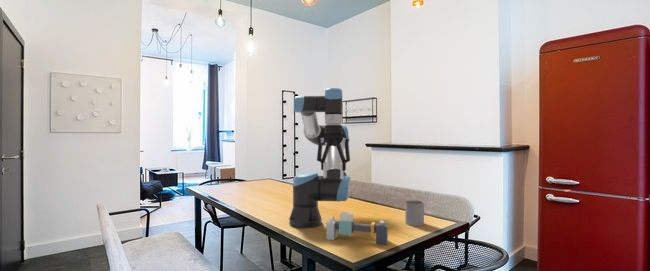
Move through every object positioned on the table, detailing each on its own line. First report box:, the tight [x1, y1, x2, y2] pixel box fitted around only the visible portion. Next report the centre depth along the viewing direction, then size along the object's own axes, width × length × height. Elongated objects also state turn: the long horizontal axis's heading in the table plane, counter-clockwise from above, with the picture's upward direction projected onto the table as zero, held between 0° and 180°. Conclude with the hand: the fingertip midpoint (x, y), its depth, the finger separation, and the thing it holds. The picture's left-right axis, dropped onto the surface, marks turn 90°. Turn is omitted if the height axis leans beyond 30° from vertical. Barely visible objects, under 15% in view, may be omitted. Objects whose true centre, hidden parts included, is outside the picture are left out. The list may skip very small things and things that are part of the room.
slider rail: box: [326, 216, 389, 246], centre depth 127 cm, size 24×6×8 cm, turn 74°
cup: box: [404, 199, 425, 227], centre depth 149 cm, size 8×8×10 cm
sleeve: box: [338, 211, 355, 236], centre depth 128 cm, size 5×5×8 cm
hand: (333, 177), depth 138 cm, fingers open, 7 cm apart
